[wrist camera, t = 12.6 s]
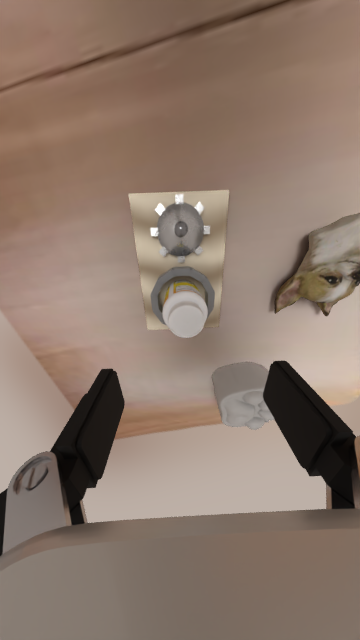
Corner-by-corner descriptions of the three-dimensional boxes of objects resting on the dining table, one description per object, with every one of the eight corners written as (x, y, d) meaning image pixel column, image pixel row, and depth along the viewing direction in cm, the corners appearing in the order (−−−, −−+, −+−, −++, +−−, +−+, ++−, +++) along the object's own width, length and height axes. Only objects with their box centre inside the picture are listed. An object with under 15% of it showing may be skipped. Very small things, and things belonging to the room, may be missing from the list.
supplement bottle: (177, 316, 28) (178, 352, 19) (158, 290, 26) (149, 316, 17) (205, 300, 27) (221, 329, 18) (188, 271, 25) (195, 287, 16)
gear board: (131, 196, 22) (128, 193, 21) (225, 193, 22) (229, 189, 21) (148, 326, 30) (147, 330, 29) (216, 323, 30) (218, 327, 29)
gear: (148, 197, 21) (142, 187, 17) (209, 195, 21) (217, 184, 17) (154, 262, 24) (151, 265, 21) (207, 260, 24) (213, 263, 21)
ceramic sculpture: (455, 209, 16) (363, 334, 23) (365, 217, 24) (317, 309, 31) (353, 200, 16) (291, 331, 23) (295, 211, 23) (263, 306, 30)
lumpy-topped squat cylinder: (210, 367, 35) (220, 403, 27) (270, 357, 34) (297, 390, 27) (215, 399, 40) (225, 437, 32) (268, 390, 39) (292, 427, 31)
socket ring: (150, 267, 24) (147, 270, 22) (212, 265, 25) (216, 267, 22) (156, 323, 29) (154, 330, 26) (209, 321, 29) (212, 328, 26)
